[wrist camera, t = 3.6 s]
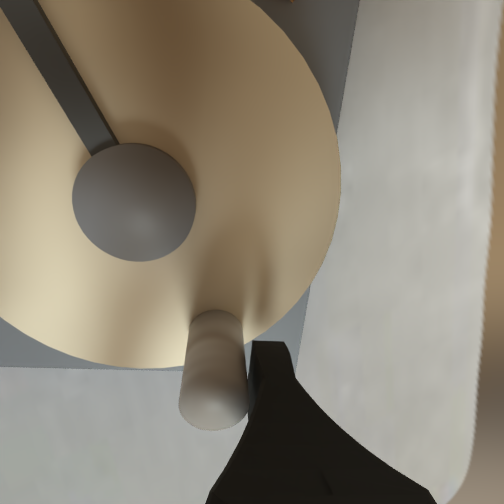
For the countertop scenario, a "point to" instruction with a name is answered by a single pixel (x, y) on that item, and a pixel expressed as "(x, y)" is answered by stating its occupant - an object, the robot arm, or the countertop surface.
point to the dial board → (332, 86)
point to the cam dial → (160, 185)
